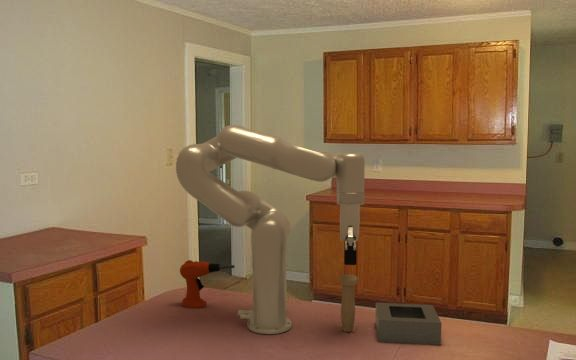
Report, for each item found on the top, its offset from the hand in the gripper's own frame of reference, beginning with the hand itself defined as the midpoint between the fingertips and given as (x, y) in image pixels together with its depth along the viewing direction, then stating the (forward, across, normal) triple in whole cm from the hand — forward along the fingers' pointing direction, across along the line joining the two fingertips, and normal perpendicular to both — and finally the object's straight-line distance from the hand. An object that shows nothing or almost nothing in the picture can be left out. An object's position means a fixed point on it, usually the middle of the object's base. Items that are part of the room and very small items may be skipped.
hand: (350, 260), depth 140 cm
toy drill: (+19, -14, -45) cm, 51 cm away
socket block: (+20, 0, +15) cm, 25 cm away
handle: (+20, 0, -1) cm, 20 cm away
